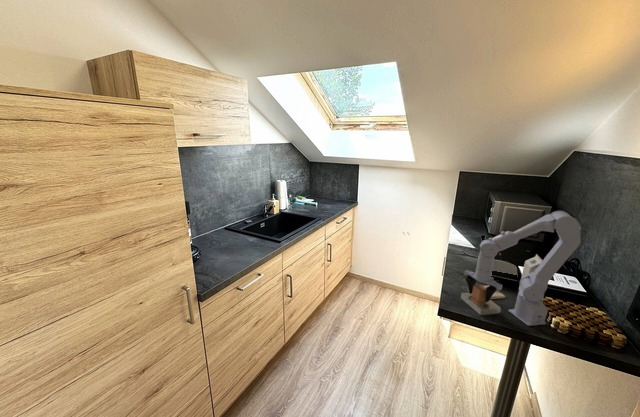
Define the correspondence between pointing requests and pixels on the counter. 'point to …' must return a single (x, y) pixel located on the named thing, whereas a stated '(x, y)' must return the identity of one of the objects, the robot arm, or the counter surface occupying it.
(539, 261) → the milk carton
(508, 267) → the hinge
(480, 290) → the peg
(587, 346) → the counter surface
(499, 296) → the board
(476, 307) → the socket block
